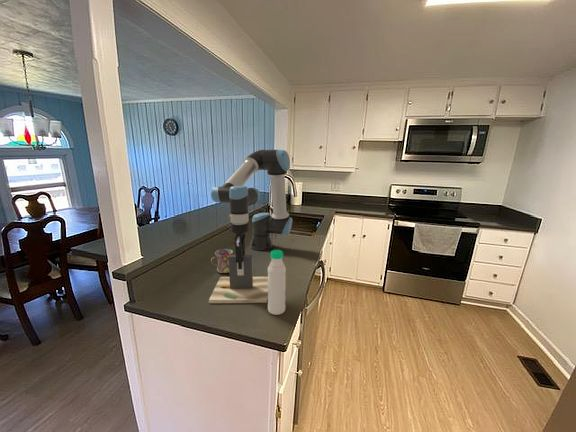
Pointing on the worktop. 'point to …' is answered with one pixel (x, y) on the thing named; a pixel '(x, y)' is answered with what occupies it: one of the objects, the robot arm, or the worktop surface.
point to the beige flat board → (240, 292)
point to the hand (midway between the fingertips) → (241, 273)
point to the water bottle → (276, 283)
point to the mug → (222, 260)
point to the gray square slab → (240, 280)
